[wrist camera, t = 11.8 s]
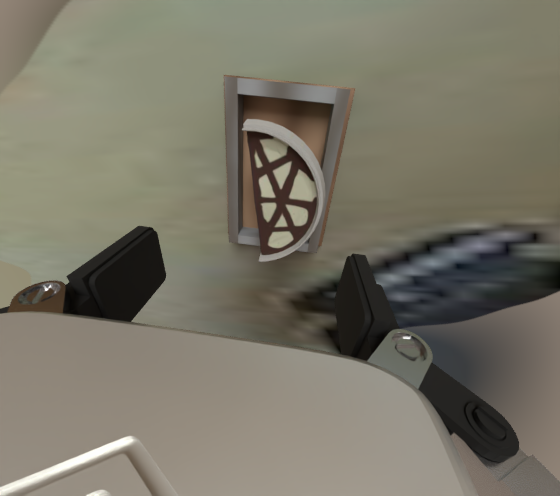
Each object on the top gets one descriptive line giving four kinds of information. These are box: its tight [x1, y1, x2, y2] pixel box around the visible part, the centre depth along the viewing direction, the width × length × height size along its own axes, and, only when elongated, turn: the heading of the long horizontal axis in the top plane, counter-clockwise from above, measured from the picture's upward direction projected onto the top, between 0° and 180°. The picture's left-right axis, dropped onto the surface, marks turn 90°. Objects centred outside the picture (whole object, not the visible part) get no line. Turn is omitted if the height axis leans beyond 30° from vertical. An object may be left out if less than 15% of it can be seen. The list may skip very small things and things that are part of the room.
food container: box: [242, 119, 325, 262], centre depth 23 cm, size 12×6×10 cm, turn 3°
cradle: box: [224, 75, 355, 253], centre depth 27 cm, size 13×18×4 cm
